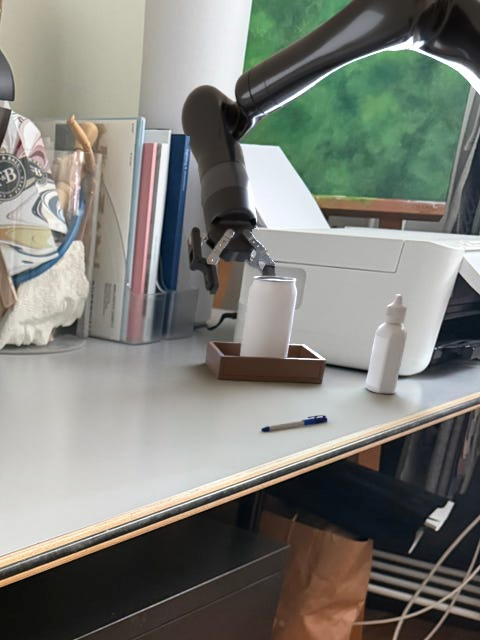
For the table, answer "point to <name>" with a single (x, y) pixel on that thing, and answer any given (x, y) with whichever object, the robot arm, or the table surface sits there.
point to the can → (269, 317)
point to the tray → (265, 364)
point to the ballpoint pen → (296, 423)
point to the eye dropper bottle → (388, 350)
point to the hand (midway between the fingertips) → (242, 291)
